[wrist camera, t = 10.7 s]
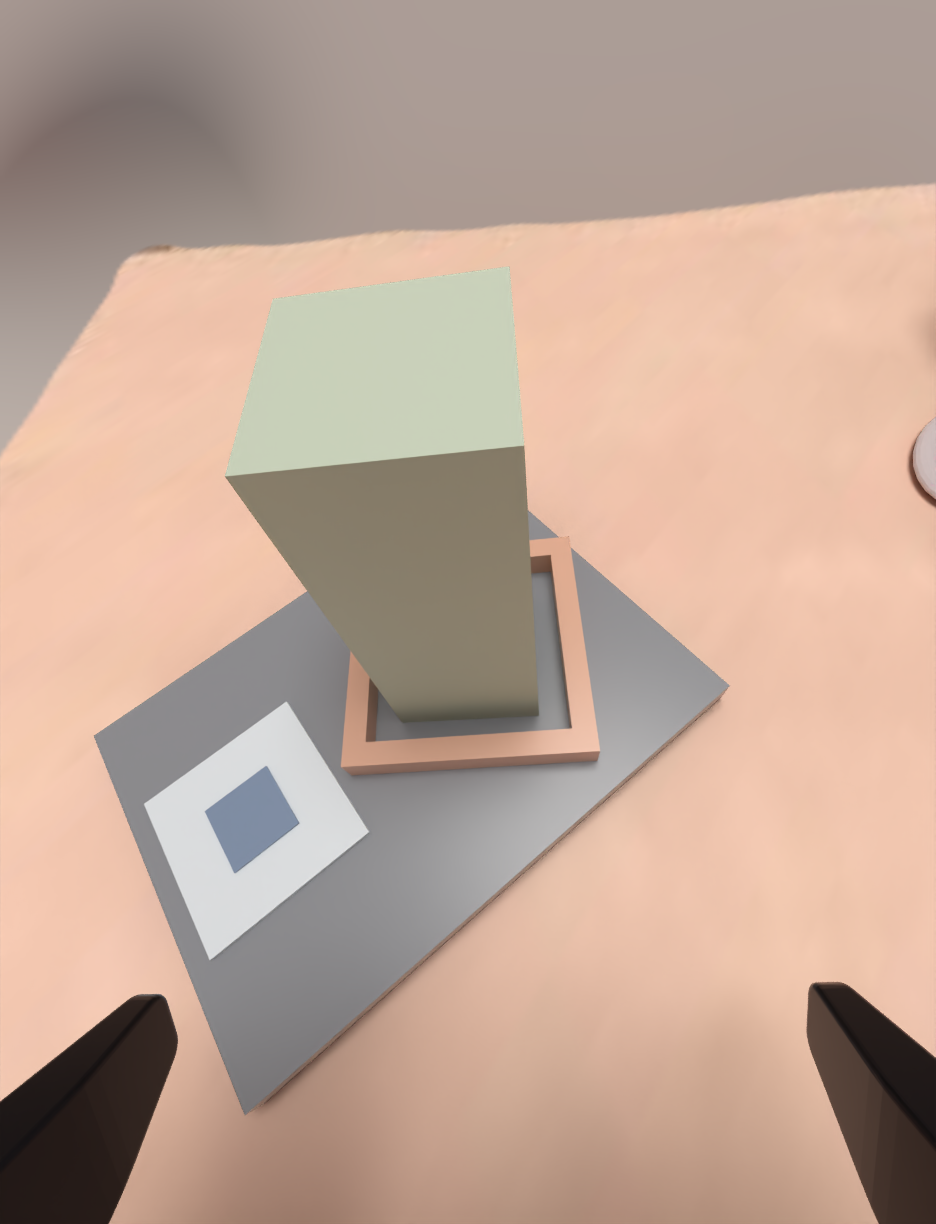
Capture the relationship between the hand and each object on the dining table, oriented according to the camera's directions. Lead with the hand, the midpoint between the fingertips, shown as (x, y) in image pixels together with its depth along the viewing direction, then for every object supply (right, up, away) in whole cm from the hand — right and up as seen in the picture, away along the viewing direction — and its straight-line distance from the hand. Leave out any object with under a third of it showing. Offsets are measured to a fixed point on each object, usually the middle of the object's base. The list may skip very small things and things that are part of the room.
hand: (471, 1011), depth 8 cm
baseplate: (-3, +1, +14) cm, 14 cm away
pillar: (0, +4, +14) cm, 14 cm away
